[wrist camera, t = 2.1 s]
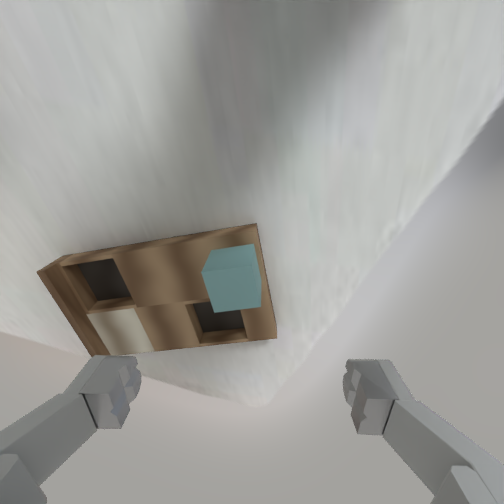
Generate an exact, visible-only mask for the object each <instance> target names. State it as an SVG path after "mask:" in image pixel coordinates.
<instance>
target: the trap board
mask: <svg viewBox="0 0 504 504" xmlns="http://www.w3.org/2000/svg"><path fill="white" fill-rule="evenodd" d="M248 244H254V247H255V252H256V256H257V261H258V266H259V271H260V276H261V281H262V282H261V307H256V308H248V309H240V310H232V311H224V312H216V313H214V310H213V307H212V304H211V301H210V298H209V295H208V292H207V289H206V286H205V283H204V280H203V276H202V273H201V272H202V269H203V267H204V265H205V263H206V261H207V259H208V256H209V254H210V252H211V250H216V249H223V248H229V247H235V246H242V245H248ZM37 274H38V275H39V277H40V278H41V280H42V282H43V283H44V285H45V286H46V288H47V289H48V291H49V292H50V294H51V295H52V297H53V298H54V300H55V301H56V303H57V305H58V306H59V308H60V309H61V311H62V312H63V314H64V315H65V317H66V318H67V320H68V321H69V323H70V324H71V326H72V327H73V329H74V331H75V332H76V334H77V335H78V337H79V338H80V340H81V341H82V343H83V344H84V346H85V347H86V349H87V350H88V352H89V354H90V355H91V357H93V356H95V355H113V356H117V355H126V354H136V353H145V352H154V351H164V350H173V349H182V348H191V347H201V346H210V345H219V344H229V343H238V342H247V341H257V340H266V339H275V338H277V327H276V321H275V316H274V311H273V306H272V301H271V295H270V290H269V285H268V280H267V275H266V270H265V265H264V260H263V254H262V249H261V244H260V239H259V234H258V229H257V224H250V225H244V226H238V227H232V228H226V229H220V230H214V231H208V232H202V233H196V234H190V235H184V236H178V237H172V238H166V239H160V240H154V241H149V242H143V243H137V244H131V245H125V246H119V247H113V248H107V249H101V250H95V251H89V252H83V253H77V254H71V255H65V256H62V257H60V258H59V259H57V260H55V261H54V262H52V263H50V264H49V265H47V266H45V267H44V268H42V269H41V270H39V271H37Z"/></svg>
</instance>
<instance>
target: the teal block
mask: <svg viewBox="0 0 504 504" xmlns="http://www.w3.org/2000/svg"><path fill="white" fill-rule="evenodd" d="M201 273H202V276H203V280H204V283H205V286H206V289H207V292H208V295H209V298H210V301H211V304H212V307H213V310H214V313H216V312H224V311H232V310H240V309H248V308H256V307H261V282H262V281H261V276H260V271H259V266H258V261H257V256H256V252H255V247H254V244H248V245H242V246H235V247H229V248H223V249H216V250H211V252H210V254H209V256H208V259H207V261H206V263H205V265H204V267H203V269H202V272H201Z"/></svg>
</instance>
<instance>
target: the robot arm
mask: <svg viewBox="0 0 504 504" xmlns="http://www.w3.org/2000/svg"><path fill="white" fill-rule="evenodd" d="M137 364H138V363H137V359H136V357H133V356H113V355H95V356H93V357H92V358H90V360H89V361H88V362H87V364H86V365H85V366H84V367H83V369H82V370H81V371H80V372H79V374H78V375H77V376H76V378H75V379H74V380H73V382H72V383H71V384H70V385H69V387H68V388H67V389H66V390H65V392H64V393H63V394H58V395H56V396H54V397H53V398H52V399H50V400H48V401H47V402H45V403H44V404H42V405H41V406H39V407H38V408H36V409H34V410H33V411H31V412H30V413H28V414H27V415H25V416H23V417H22V418H20V419H19V420H17V421H16V422H14V423H13V424H11V425H10V426H8V427H6V428H5V429H3V430H2V431H0V504H46V503H47V497H46V496H45V494H44V493H43V491H42V490H41V488H40V487H39V486H40V485H41V484H42V483H43V482H44V481H45V480H46V479H47V478H48V477H49V476H50V475H51V474H52V473H53V472H54V471H55V470H56V469H58V468H59V467H60V466H61V465H62V464H63V463H64V462H65V461H66V460H67V459H68V458H69V457H70V456H71V455H72V454H73V453H74V452H75V451H76V450H77V449H78V448H79V447H80V446H81V445H82V444H83V443H85V441H87V440H88V439H89V438H90V437H91V436H92V435H93V434H94V433H95V432H96V431H97V429H118V428H119V429H121V427H122V425H123V423H124V421H125V419H126V417H127V415H128V413H129V411H130V407H129V403H130V402H131V401H133V400H134V399H135V398H136V396H137V394H138V392H139V389H140V385H141V374H140V371H139V370H138V369H136V368H135V367H136V365H137ZM346 369H347V373H346V374H345V375H344V376H343V391H344V395H345V399H346V402H347V403H348V404H349V405H350V406H351V407H352V412H351V416H352V419H353V422H354V425H355V428H356V431H357V434H366V435H383V438H384V439H385V440H386V441H387V442H388V443H389V445H390V446H391V447H392V448H393V449H394V450H395V451H396V453H397V454H398V455H399V456H400V457H401V458H402V459H403V461H404V462H405V463H406V464H407V465H408V466H409V467H410V468H411V470H412V471H413V472H414V473H415V474H416V475H417V476H418V477H419V479H420V480H421V481H422V482H423V483H424V484H425V485H426V486H427V488H428V489H429V490H430V491H431V492H432V493H433V494H434V495H435V497H434V498H433V500H432V502H431V504H504V464H503V463H502V462H500V461H499V460H498V459H496V458H495V457H494V456H493V455H491V454H490V453H489V452H487V451H486V450H485V449H483V448H482V447H481V446H479V445H478V444H476V443H475V442H474V441H473V440H471V439H470V438H469V437H467V436H466V435H465V434H463V433H462V432H461V431H459V430H458V429H457V428H455V427H454V426H453V425H451V424H450V423H449V422H447V421H446V420H445V419H444V418H442V417H440V415H438V414H437V413H436V412H434V411H433V410H431V409H430V408H429V407H428V406H426V405H425V404H424V403H422V402H421V401H416V400H415V399H414V397H413V395H412V394H411V392H410V391H409V389H408V387H407V386H406V384H405V383H404V381H403V379H402V378H401V376H400V374H399V373H398V371H397V370H396V368H395V366H394V365H393V363H392V362H391V361H390V360H374V359H348V360H347V362H346Z"/></svg>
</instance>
